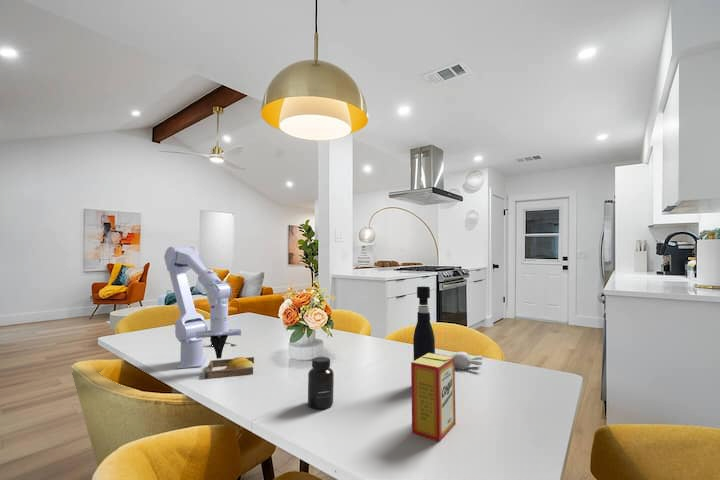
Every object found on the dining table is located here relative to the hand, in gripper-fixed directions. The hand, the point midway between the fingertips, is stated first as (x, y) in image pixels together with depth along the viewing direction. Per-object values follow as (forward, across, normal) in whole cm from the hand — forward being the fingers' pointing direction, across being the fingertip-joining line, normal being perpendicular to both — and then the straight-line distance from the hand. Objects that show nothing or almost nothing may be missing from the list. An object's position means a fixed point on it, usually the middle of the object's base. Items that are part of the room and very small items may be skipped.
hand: (219, 357), depth 120 cm
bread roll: (+5, +7, 0) cm, 9 cm away
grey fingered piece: (+5, +82, -20) cm, 84 cm away
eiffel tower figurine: (+5, -4, +37) cm, 37 cm away
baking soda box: (+5, +52, -56) cm, 77 cm away
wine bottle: (+5, +61, -33) cm, 70 cm away
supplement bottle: (+5, +29, -36) cm, 47 cm away
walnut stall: (+5, +4, 0) cm, 6 cm away
